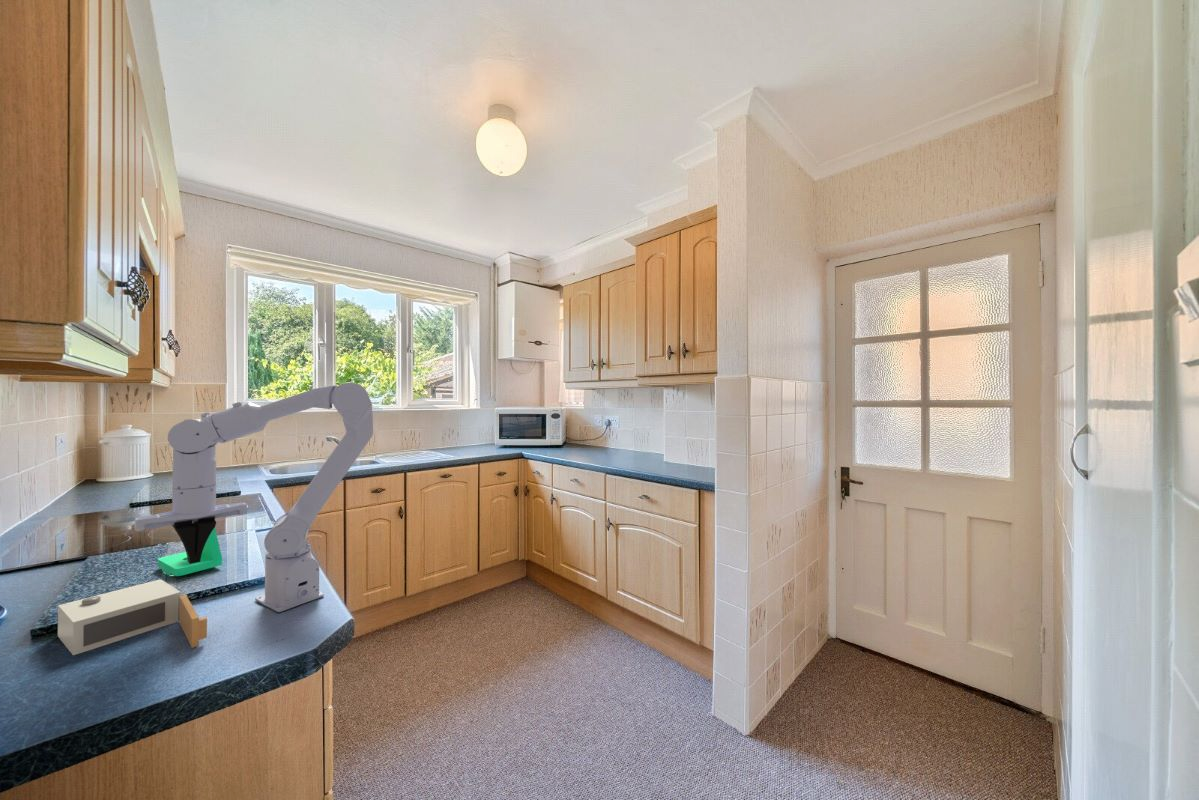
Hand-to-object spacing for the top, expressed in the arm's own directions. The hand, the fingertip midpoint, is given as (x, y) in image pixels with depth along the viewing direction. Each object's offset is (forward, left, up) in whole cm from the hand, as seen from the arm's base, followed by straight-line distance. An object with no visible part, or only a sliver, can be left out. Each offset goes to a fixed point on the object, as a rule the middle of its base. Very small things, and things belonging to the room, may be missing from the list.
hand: (194, 561), depth 78 cm
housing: (+4, +8, -9) cm, 13 cm away
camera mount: (+27, -7, -10) cm, 29 cm away
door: (-8, +3, -9) cm, 12 cm away
